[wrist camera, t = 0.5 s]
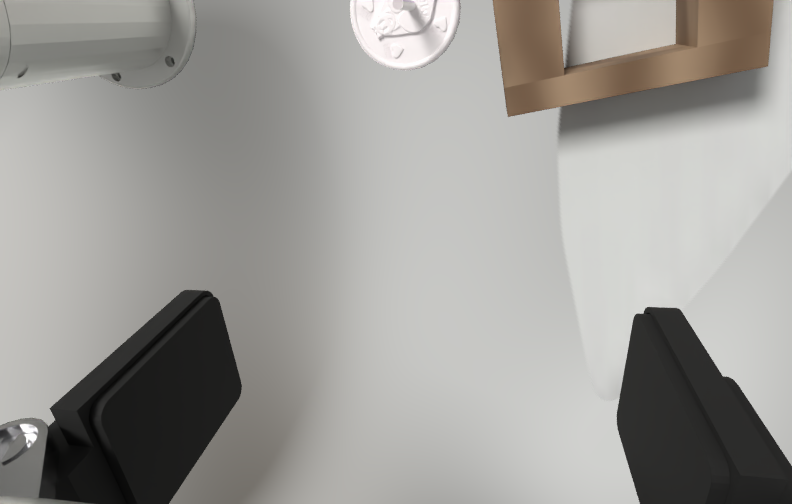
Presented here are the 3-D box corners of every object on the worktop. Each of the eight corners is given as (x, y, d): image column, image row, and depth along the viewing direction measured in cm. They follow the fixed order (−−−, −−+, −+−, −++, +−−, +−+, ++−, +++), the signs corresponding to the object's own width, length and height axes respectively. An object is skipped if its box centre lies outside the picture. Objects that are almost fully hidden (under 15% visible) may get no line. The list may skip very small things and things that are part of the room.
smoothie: (483, 24, 35) (479, 29, 23) (412, 75, 38) (374, 105, 25) (437, -59, 33) (405, -102, 21) (365, 0, 36) (299, -7, 24)
